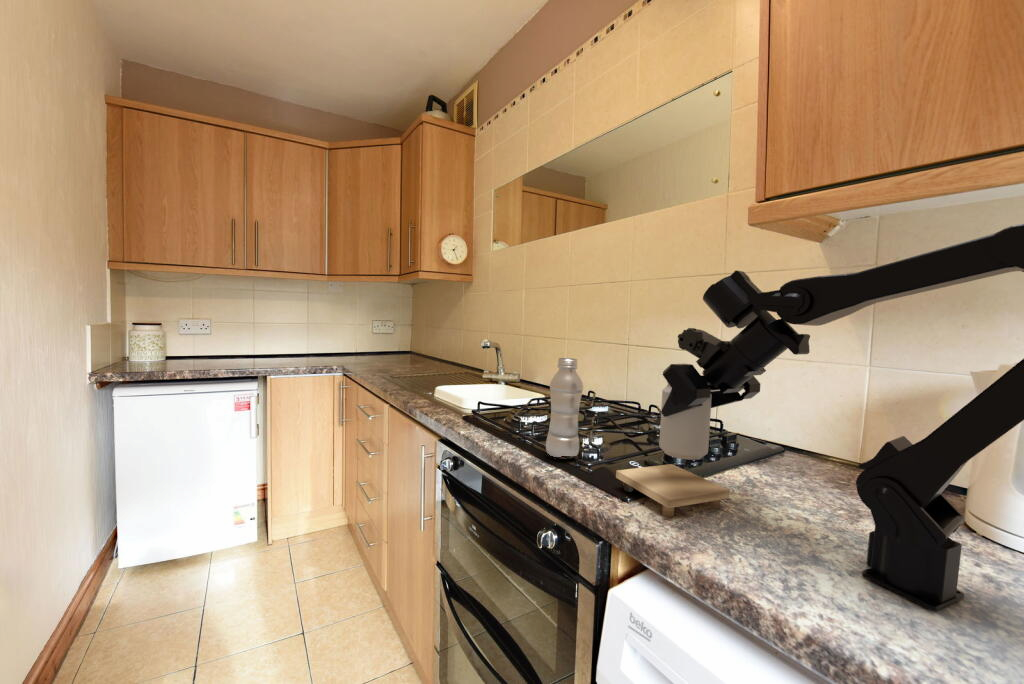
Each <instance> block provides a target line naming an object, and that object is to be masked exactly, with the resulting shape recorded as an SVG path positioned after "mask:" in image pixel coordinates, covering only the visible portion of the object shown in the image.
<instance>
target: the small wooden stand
mask: <svg viewBox="0 0 1024 684" xmlns="http://www.w3.org/2000/svg"><path fill="white" fill-rule="evenodd" d="M615 471H616V472H615V473H616V474H615V478H616V479H617V480H619V481H621V482H623V484H624V483H626V484H628V485H629V486H631V487H633V488H634V489H635V490H636V491H638V492H640V493H642V494H644V495H645V496H646V497H649V498H650V499H651V500H654V501H655V502H657V503H659V504H661V505H662V512H661V513H662V515H663V516H664V517H668V518H672V517H675V508H676V507H677V508H679V507H683V506H684V507H685V506H690V505H691V506H692V505H696V504H702V503H707V505H706V506H707V507H708V508H710V509H714V510H718V509H719V508H720V500H725V499H730V494H731V493H730V491H731V490H730V489H728V488H725V487H723V486H722V485H720V484H716V483H715V482H712V481H710V480H709V479H706V478H704V477H701V476H699V475H696V474H694V473H693V472H691V471H689V470H686V469H683V468H682V467H680V466H676V465H675V464H672V463H670V464H661V465H652V466H643V467H635V468H627V469H617V470H615Z"/></svg>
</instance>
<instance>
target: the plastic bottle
mask: <svg viewBox="0 0 1024 684" xmlns="http://www.w3.org/2000/svg"><path fill="white" fill-rule="evenodd" d="M557 368H558V371H556V373H555V374H554V376H553V377H552V379H551V381H550V383H549V392H550V393H549V394H550V410H551V412H550V422H549V429H548V434H547V437H546V441H545V450H546V453H547V455H548V454H549V455H550V456H553V457H561V456H576V457H577V455H579V451H580V439H579V413H580V405H581V400H582V396H583V390H584V383H583V381H582V379H581V377H580V375H579V374H578V372H577V369H578V359H577V358H572V357H571V358H570V357H558V359H557ZM549 455H548V456H549ZM550 456H549V457H550Z"/></svg>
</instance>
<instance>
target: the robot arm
mask: <svg viewBox="0 0 1024 684" xmlns="http://www.w3.org/2000/svg"><path fill="white" fill-rule="evenodd" d="M1012 272H1022V273H1024V223H1021V224H1015V225H1011V226H1008V227H1006V228H1003V229H1001V230H1000V231H997V232H995V233H992V234H988V235H985V236H981V237H978V238H974V239H971V240H967V241H964V242H961V243H957V244H953V245H949V246H946V247H943V248H940V249H935V250H932V251H928V252H925V253H922V254H918V255H914V256H911V257H907V258H904V259H900V260H897V261H893V262H890V263H886V264H883V265H878V266H875V267H872V268H869V269H865V270H861V271H858V272H850V273H843V274H829V275H821V276H819V275H818V276H812V277H804V278H797V279H792V280H790V281H788V282H785V283H784V284H783V285H781V286H780V288H779V289H778V290H772V291H771V290H770V291H765V292H764V291H762V290H761V289H760V288H759V287H758V286H757V285H756V284H754V282H753V281H752V280H751V278H750V277H749V275H748V274H747V273H746V272H745V271H741V270H734V272H733V273H732V274H731V275H728V276H725V277H723V278H722V279H720V280H718V281H716V282H715V283H713V284H711V285H710V286H709V287H708V288H707V289H706V290H705V292H704V293H703V296H702V300H703V302H704V303H705V304H706V305H707V307H708V308H709V309H710V310H711V311H712V312H713V313H714V314H715V316H716V317H718V319H719V320H720V321H721V323H722V324H724V326H725V327H726V328H729V329H730V328H734V327H735V328H737V329H742V330H741V331H740V332H739V333H738V334H736V335H735V336H734V337H733V338H732V339H731V340H721V339H720V338H718V337H716V336H715V335H713V334H710V333H709V332H707V331H705V330H704V329H703V330H702V329H698V328H695V327H688V328H686V329H683V330H682V333H680V334H678V336H677V343H678V344H677V345H678V348H680V349H681V350H683V351H686V352H688V353H690V354H691V355H692V356H694V357H696V358H698V359H697V360H696V361H695V362H696V364H697V365H698V366H699V368H701V369H703V370H702V372H701V373H700V372H699V371H698V370H697V369H696V367H695V366H694V365H693V364H691V363H671V364H669V366H667V367H666V368H665V369H664V370H663V372H662V376H663V377H664V379H665V380H666V383H667V382H668V383H669V385H670V386H671V387H672V389H671V392H670V394H669V396H668V398H667V400H666V402H665V404H664V406H663V408H662V410H661V409H660V411H661V412H660V414H661V413H662V414H663V416H664V417H667V416H670V415H674V414H677V413H680V412H683V411H687V410H690V409H693V408H697V407H700V406H702V404H701V403H703V402H705V401H706V400H707V399H709V398H710V393H711V394H712V399H711V409H714V408H717V407H721V406H725V405H726V406H727V405H730V404H734V403H738V402H742V401H743V400H749V399H750V400H751V399H753V398H754V397H755V396H756V395H757V394H759V393H760V392H761V384H762V383H760V382H759V380H758V379H757V378H756V377H755V376H762V375H763V374H764V373H765V372H766V371H767V370H766V368H765V367H766V366H768V365H769V364H770V363H772V362H773V361H774V360H775V359H777V358H778V357H779V356H780V355H782V354H783V353H784V352H785V351H787V350H789V351H790V352H791V353H792V355H793V354H794V355H808V354H809V353H810V351H811V350H810V343H809V341H810V338H811V335H810V334H808V333H799V332H797V330H795V329H794V328H793V326H791V325H795V326H796V325H798V326H816V327H817V326H823V325H826V324H830V323H831V322H835V321H837V320H840V319H842V318H845V317H848V316H850V315H852V314H854V313H856V312H859V311H860V310H862V309H864V308H866V307H870V306H872V305H875V304H877V303H881V302H886V301H889V300H895V299H899V298H903V297H907V296H911V295H916V294H917V295H918V294H920V293H925V292H930V291H934V290H938V289H942V288H947V287H951V286H955V285H961V284H964V283H968V282H973V281H977V280H981V279H985V278H990V277H994V276H999V275H1003V274H1008V273H1012ZM770 312H772V313H776V315H777V316H778V317H779V318H778V319H776V318H775V317H774V316H773V315H772V314H771V313H770ZM701 374H702V375H701ZM668 383H667V384H668ZM743 390H744V391H743ZM741 391H743V392H742V393H741V394H740V392H741ZM1022 422H1024V358H1022V359H1021V360H1020V361H1019V362H1017V363H1016V364H1015V365H1013V366H1012V367H1011V368H1010V369H1008V370H1007V371H1006V372H1005V373H1004V374H1003V375H1001V376H1000V377H999V378H998V379H996V380H995V381H993V382H992V384H990V385H989V386H987V387H986V388H985V389H983V390H982V391H981V392H980V393H979V394H978V395H976V396H975V397H973V399H971V400H970V401H969V402H968V403H967V404H965V405H964V406H963V407H962V408H961V409H959V410H958V411H957V412H956V413H954V414H953V415H952V416H951V417H949V418H948V419H947V420H946V421H944V422H943V423H942V424H940V425H939V426H938V427H937V428H935V429H934V430H933V431H932V432H931V433H929V434H928V435H926V436H925V438H923V439H921V440H919V441H916V442H915V443H912V442H911V441H910V440H909V439H908V438H907V437H906V436H904V435H901V436H900V437H896V438H893V439H891V440H889V441H886V442H885V443H884V444H883V445H882V447H881V448H880V449H879V451H878V452H877V453H876V454H875V455H874V457H873V458H871V459H868V460H865V461H864V462H862V463H859V464H858V467H859V468H860V469H864V470H862V471H861V472H860V473H859V474H858V475H857V477H856V481H855V485H856V491H857V494H858V497H859V498H860V500H861V502H862V503H863V505H865V507H867V509H869V511H870V513H871V516H872V520H873V523H874V530H872V531H870V532H869V534H868V542H867V543H868V544H867V551H866V552H867V555H866V563H865V564H866V566H867V567H868V568H867V569H863V570H862V572H861V575H862V576H863V577H865V578H866V579H868V580H869V581H870V580H871V581H872V582H874V583H876V584H878V585H880V586H882V587H883V588H886V589H888V590H890V591H892V592H894V593H896V594H898V595H900V596H901V597H904V598H906V599H908V600H910V601H912V602H914V603H916V604H918V605H920V606H922V607H924V608H926V609H928V610H931V611H938V610H941V609H942V608H944V607H945V608H946V607H947V606H949V605H952V604H954V603H957V602H958V601H961V600H964V599H965V593H964V592H962V591H960V590H958V582H959V581H958V580H959V572H960V564H961V563H960V562H961V554H962V548H963V547H962V546H963V544H962V543H961V542H957V541H955V540H953V539H952V538H950V536H951V535H952V534H954V533H956V532H957V530H958V529H959V528H960V527H961V525H962V523H963V522H964V521H965V516H964V515H963V514H962V513H961V512H960V511H959V510H958V509H957V507H956V506H954V504H953V503H951V501H950V500H949V499H948V498H947V497H945V495H944V494H943V492H944V491H945V489H946V488H947V487H948V486H949V485H950V484H951V483H952V482H953V481H954V480H955V478H956V477H957V476H958V474H959V473H960V472H961V470H963V468H964V467H965V466H966V464H967V463H968V462H969V461H970V460H971V459H973V458H975V456H977V455H978V454H980V453H981V452H982V451H984V450H985V449H986V448H988V447H989V446H990V445H992V444H993V443H995V442H996V441H998V440H999V439H1000V438H1002V437H1003V436H1004V435H1006V434H1007V433H1009V432H1010V431H1011V430H1012V429H1013V428H1015V427H1017V426H1018V425H1019V424H1020V423H1022Z"/></svg>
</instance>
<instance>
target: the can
mask: <svg viewBox="0 0 1024 684" xmlns="http://www.w3.org/2000/svg"><path fill="white" fill-rule="evenodd" d="M666 383H667V385H666V386H665V387H664V388H663V389H662V391H661V393H662V394H661V405H660V406H661V409H660V411H661V410H662V408H663V406H664V404H665V402H666V400H667V398H668V396H669V394H670V392H671V389H672V387H671V386H670V385H669V383H668V382H667V381H666ZM711 399H712V394H711V393H710V398H709V399H707V400H706V401H705V402H703V403H701V404H702V406H700V407H697V408H693V409H690V410H687V411H683V412H680V413H677V414H674V415H670V416H667V417H664V416H663V414H662V413H661V412H660V423H659V424H660V427H659V428H660V430H659V439H658V440H659V442H658V445H659V448H660V449H661V451H663V452H664V453H665V454H666V455H667V456H669V457H672V458H676V459H681V460H690V461H691V460H693V461H695V460H701V459H702V458H703V457H705V456H706V455H708V453H709V447H710V446H709V443H710V427H711V425H710V424H711V412H712V408H711Z"/></svg>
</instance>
